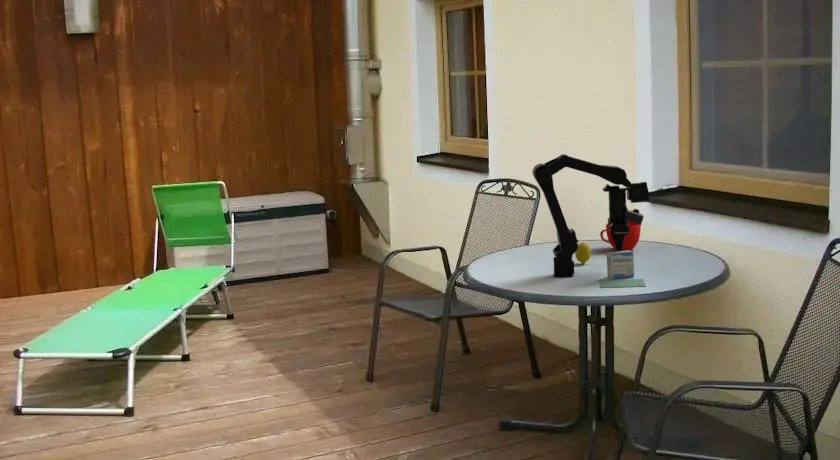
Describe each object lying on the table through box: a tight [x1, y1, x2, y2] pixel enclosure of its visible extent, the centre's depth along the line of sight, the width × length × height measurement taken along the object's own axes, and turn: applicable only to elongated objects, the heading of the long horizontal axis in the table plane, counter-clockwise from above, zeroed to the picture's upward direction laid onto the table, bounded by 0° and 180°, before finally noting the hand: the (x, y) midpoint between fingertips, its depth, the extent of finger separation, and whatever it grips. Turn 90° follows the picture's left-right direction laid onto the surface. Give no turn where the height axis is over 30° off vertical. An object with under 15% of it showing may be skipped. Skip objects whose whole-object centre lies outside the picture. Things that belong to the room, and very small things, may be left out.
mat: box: [599, 278, 646, 289], centre depth 313 cm, size 14×10×1 cm
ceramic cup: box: [599, 221, 642, 251], centre depth 367 cm, size 13×17×10 cm
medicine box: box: [606, 250, 635, 280], centre depth 322 cm, size 8×4×9 cm, turn 101°
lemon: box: [574, 241, 592, 265], centre depth 347 cm, size 6×6×8 cm
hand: (618, 249), depth 329 cm, fingers open, 9 cm apart
